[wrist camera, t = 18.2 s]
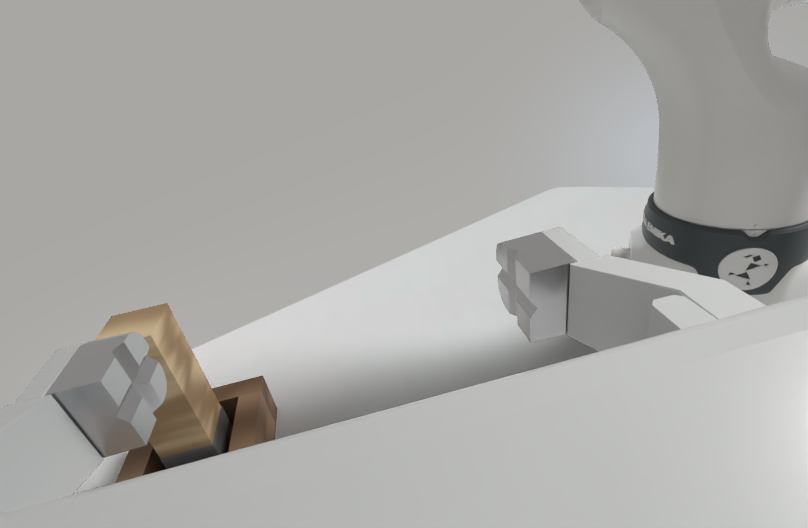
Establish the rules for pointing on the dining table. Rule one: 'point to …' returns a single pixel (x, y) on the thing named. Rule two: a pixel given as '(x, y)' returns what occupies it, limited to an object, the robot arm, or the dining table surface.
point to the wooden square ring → (245, 411)
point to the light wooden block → (177, 390)
